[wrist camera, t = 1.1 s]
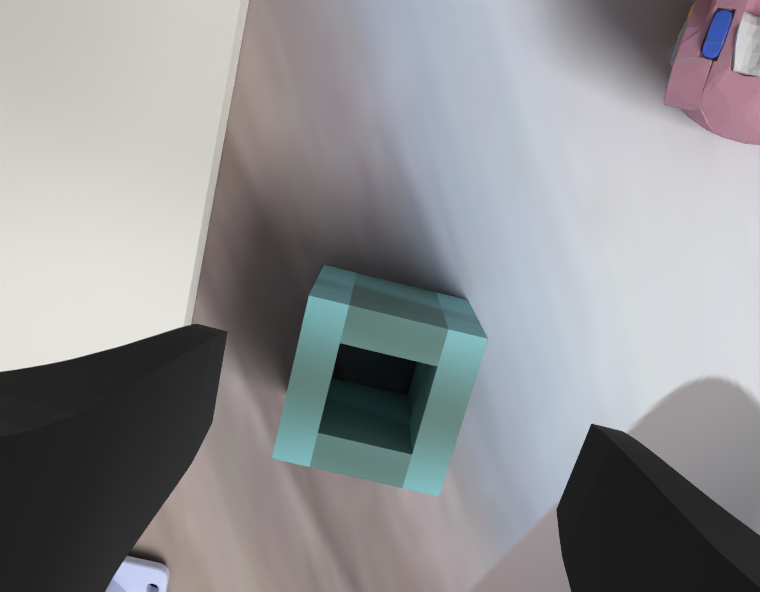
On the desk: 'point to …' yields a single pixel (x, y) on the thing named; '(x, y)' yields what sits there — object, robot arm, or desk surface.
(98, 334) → the white square slab
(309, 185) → the desk surface
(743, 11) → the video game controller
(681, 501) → the robot arm
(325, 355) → the teal hollow square tube
